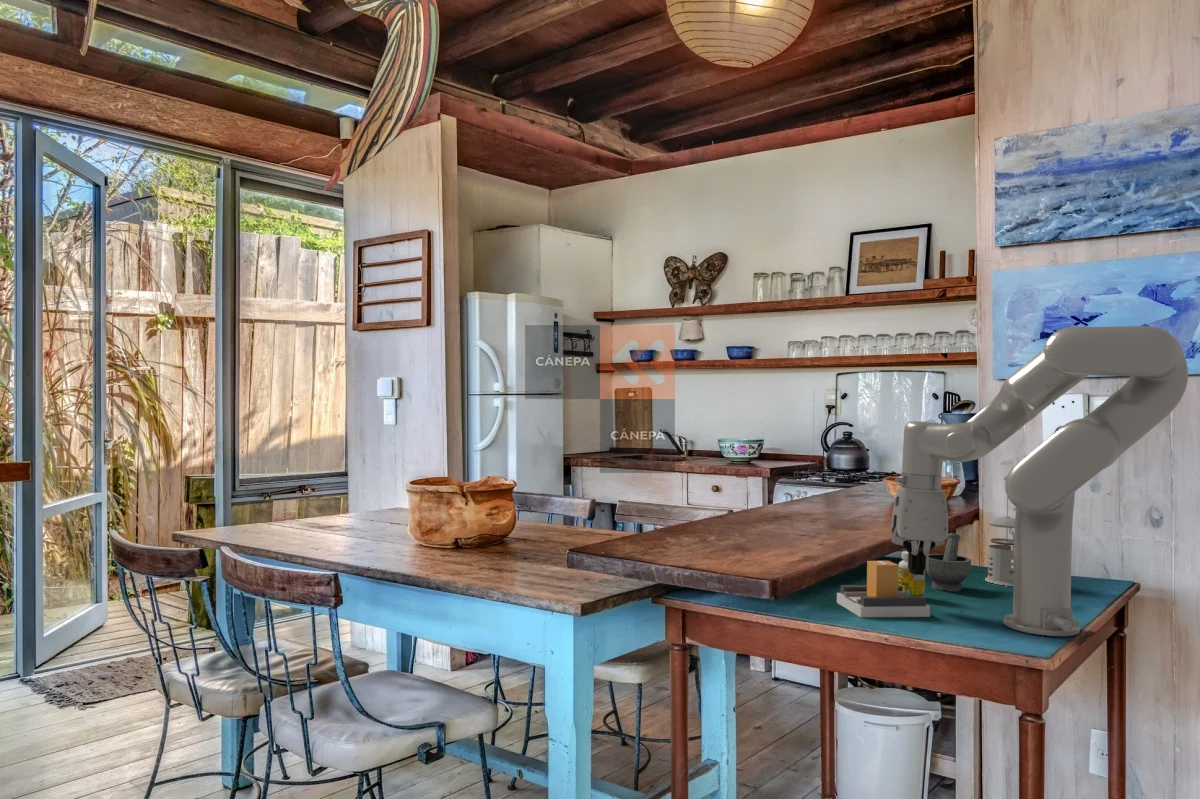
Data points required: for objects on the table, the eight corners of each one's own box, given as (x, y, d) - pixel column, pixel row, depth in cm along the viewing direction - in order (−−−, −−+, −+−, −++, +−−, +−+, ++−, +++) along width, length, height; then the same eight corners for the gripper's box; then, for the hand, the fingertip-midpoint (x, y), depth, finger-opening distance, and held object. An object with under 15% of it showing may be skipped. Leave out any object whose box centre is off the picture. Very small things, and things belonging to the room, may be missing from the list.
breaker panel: (929, 616, 166) (930, 598, 166) (860, 617, 165) (860, 598, 165) (901, 602, 178) (902, 584, 178) (836, 602, 177) (837, 585, 177)
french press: (976, 581, 200) (978, 474, 200) (995, 575, 208) (997, 472, 208) (1020, 589, 193) (1022, 478, 193) (1038, 582, 201) (1040, 475, 201)
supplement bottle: (930, 599, 181) (930, 554, 181) (908, 601, 179) (909, 555, 179) (913, 594, 186) (914, 549, 186) (892, 595, 184) (893, 550, 184)
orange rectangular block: (897, 600, 170) (898, 564, 170) (876, 600, 169) (876, 564, 169) (887, 595, 174) (888, 560, 174) (866, 595, 174) (867, 560, 174)
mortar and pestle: (962, 595, 186) (963, 540, 186) (918, 588, 191) (919, 535, 191) (976, 587, 195) (977, 534, 195) (933, 581, 200) (934, 529, 200)
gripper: (893, 484, 168) (889, 577, 168) (966, 486, 170) (961, 578, 170) (877, 479, 175) (872, 568, 176) (946, 481, 177) (942, 570, 177)
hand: (916, 573), depth 173 cm, fingers closed
